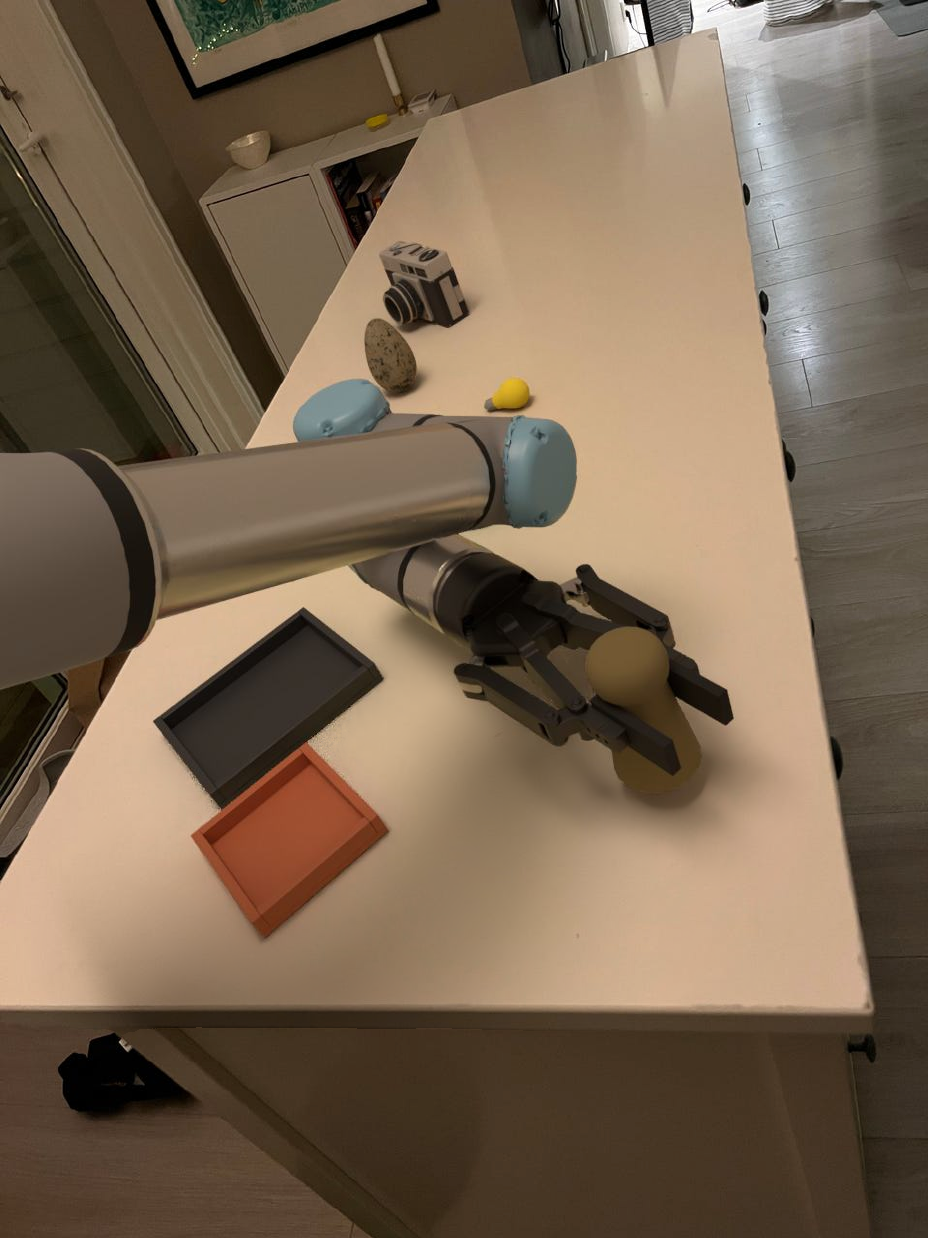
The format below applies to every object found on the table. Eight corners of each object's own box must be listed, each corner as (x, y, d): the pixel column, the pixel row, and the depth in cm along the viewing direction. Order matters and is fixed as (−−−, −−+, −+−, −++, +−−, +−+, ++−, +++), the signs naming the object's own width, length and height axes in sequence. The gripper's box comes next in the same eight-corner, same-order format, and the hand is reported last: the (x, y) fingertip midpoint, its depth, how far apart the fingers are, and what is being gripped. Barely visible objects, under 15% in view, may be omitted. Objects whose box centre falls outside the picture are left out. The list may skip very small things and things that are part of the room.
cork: (680, 803, 62) (644, 691, 56) (598, 780, 66) (555, 672, 59) (715, 734, 66) (685, 619, 59) (635, 715, 69) (599, 605, 62)
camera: (380, 320, 144) (355, 256, 138) (432, 294, 145) (410, 229, 139) (416, 345, 133) (391, 277, 127) (472, 316, 135) (450, 247, 129)
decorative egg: (423, 393, 122) (393, 322, 116) (380, 406, 124) (348, 337, 117) (425, 371, 127) (397, 302, 120) (383, 384, 128) (353, 316, 122)
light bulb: (535, 407, 110) (517, 389, 108) (493, 426, 114) (475, 409, 111) (536, 384, 112) (518, 366, 109) (495, 404, 115) (476, 387, 113)
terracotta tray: (265, 938, 69) (251, 923, 68) (203, 850, 77) (190, 835, 76) (388, 830, 72) (377, 814, 71) (316, 757, 81) (305, 741, 79)
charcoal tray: (221, 810, 80) (209, 795, 79) (164, 735, 90) (152, 720, 88) (384, 678, 85) (374, 662, 84) (312, 621, 95) (303, 606, 94)
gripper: (564, 567, 80) (798, 686, 63) (406, 696, 75) (614, 863, 58) (538, 496, 75) (784, 603, 58) (368, 628, 70) (583, 788, 53)
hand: (699, 732), depth 58 cm, fingers closed on cork, 4 cm apart
